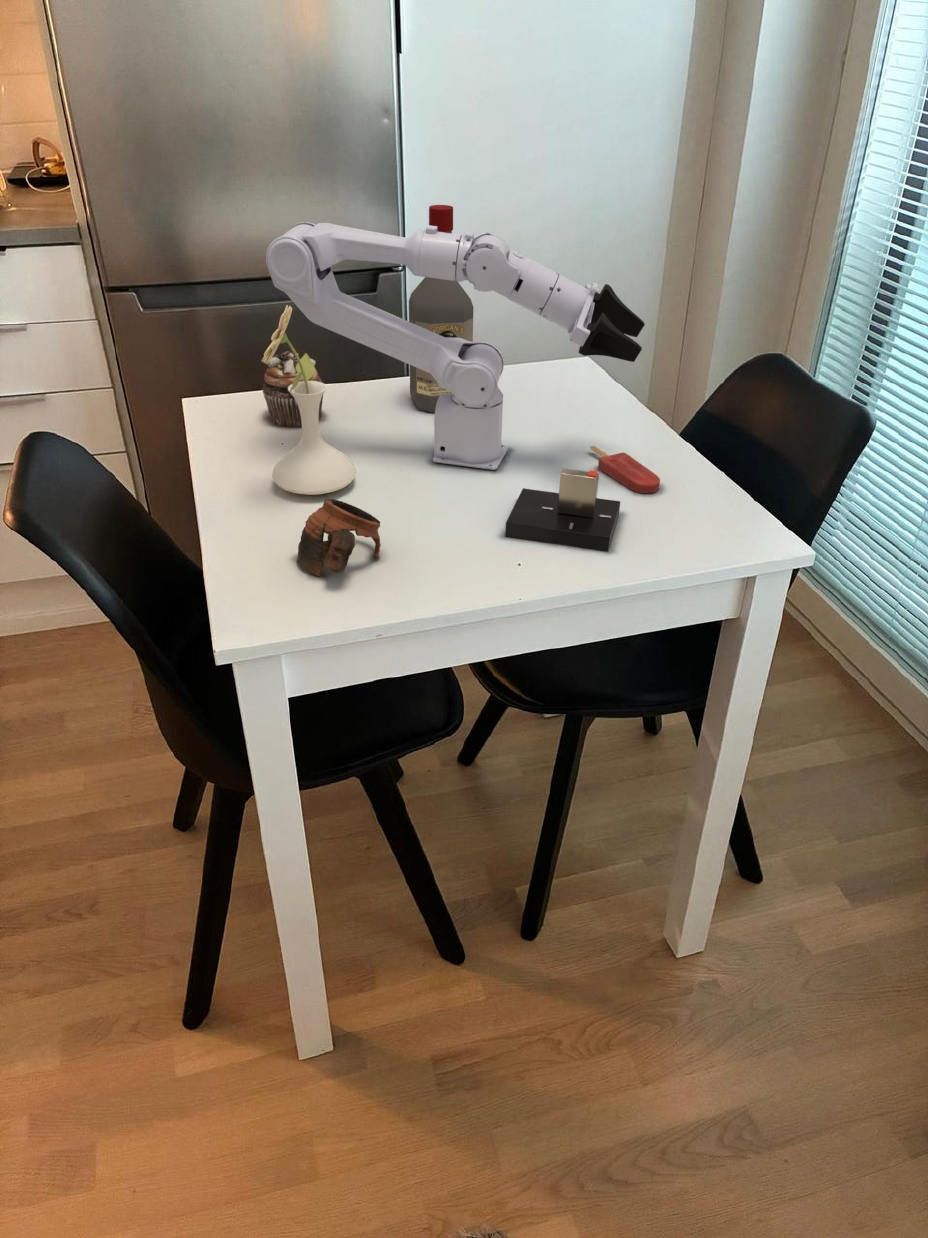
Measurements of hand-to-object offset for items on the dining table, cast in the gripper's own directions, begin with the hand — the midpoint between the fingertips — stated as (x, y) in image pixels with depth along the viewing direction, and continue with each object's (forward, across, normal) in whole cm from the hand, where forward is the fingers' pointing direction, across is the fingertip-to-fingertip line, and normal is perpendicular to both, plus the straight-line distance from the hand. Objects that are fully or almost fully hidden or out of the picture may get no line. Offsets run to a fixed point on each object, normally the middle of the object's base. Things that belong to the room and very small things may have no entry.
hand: (639, 342), depth 126 cm
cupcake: (-40, +5, +39) cm, 56 cm away
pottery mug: (-23, -36, +26) cm, 51 cm away
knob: (+1, -21, +15) cm, 26 cm away
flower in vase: (-31, -18, +32) cm, 48 cm away
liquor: (-20, +16, +32) cm, 41 cm away
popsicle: (+7, -4, +17) cm, 18 cm away
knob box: (0, -21, +17) cm, 27 cm away
